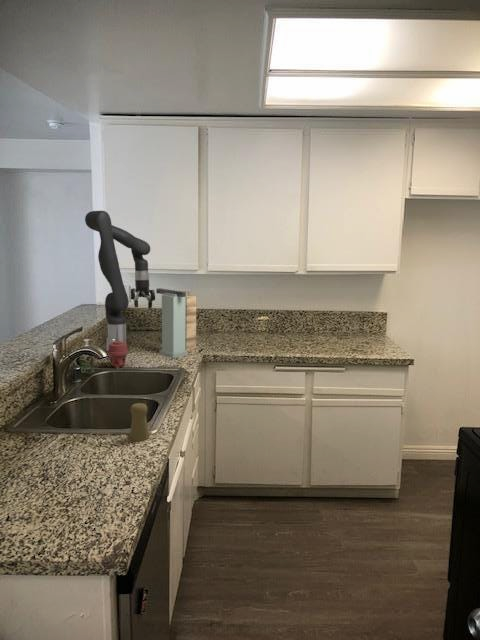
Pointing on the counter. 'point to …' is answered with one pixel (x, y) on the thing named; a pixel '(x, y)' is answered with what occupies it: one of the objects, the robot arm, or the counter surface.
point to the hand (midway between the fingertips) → (143, 307)
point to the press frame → (173, 325)
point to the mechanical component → (118, 353)
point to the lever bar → (171, 292)
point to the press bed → (190, 322)
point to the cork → (139, 423)
